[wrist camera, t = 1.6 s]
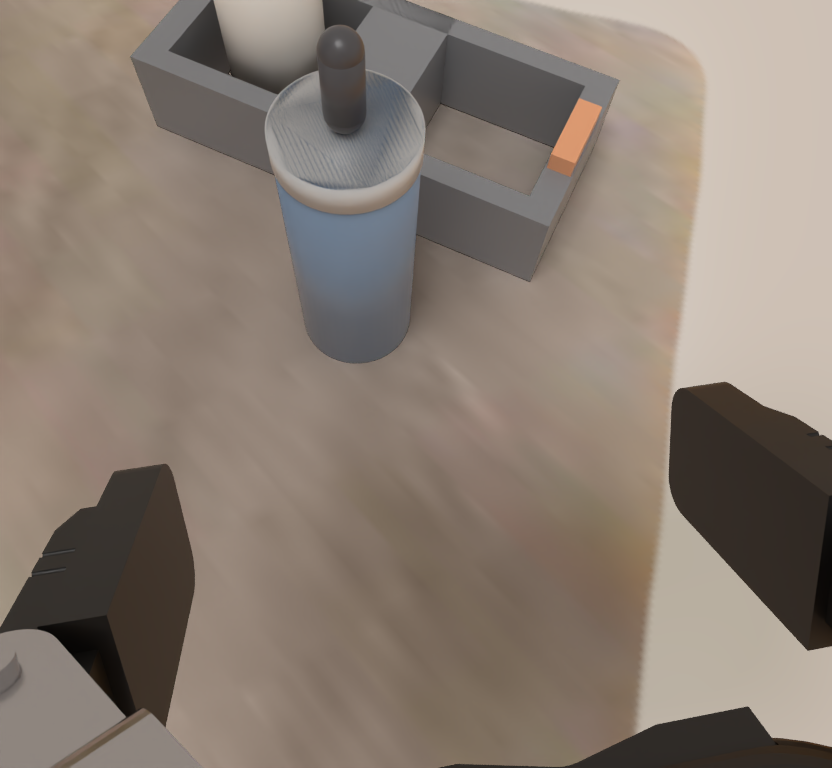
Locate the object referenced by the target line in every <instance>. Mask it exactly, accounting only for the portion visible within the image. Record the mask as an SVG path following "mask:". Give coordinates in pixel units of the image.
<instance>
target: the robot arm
mask: <svg viewBox="0 0 832 768" xmlns="http://www.w3.org/2000/svg"><path fill="white" fill-rule="evenodd" d="M669 484H670V490H671V494H672V497H673V499H674V502H675V504H676V506H677V508H678V510H679V511H680V513H681V514H682V515H683V516H684V517H685V518H686V519H687V520H688V521H689V523H690V524H691V525H692V526H693V527H694V528H695V529H696V530H697V531H698V532H699V533H700V534H701V535H702V537H703V538H704V539H705V540H706V541H707V542H708V543H709V544H710V545H711V546H712V547H713V549H714V550H715V551H716V552H717V553H718V554H719V555H720V556H721V557H722V558H723V559H724V560H725V561H726V563H727V564H728V565H729V566H730V567H731V568H732V569H733V570H734V571H735V572H736V573H737V575H738V576H739V577H740V578H741V579H742V580H743V581H744V582H745V583H746V584H747V585H748V586H749V588H750V589H751V590H752V591H753V592H754V593H755V594H756V595H757V596H758V597H759V598H760V599H761V601H762V602H763V603H764V604H765V605H766V606H767V607H768V608H769V609H770V610H771V611H772V612H773V614H774V615H775V616H776V617H777V618H778V619H779V620H780V621H781V622H782V623H783V624H784V626H785V627H786V628H787V629H788V630H789V631H790V632H791V633H792V634H793V635H794V636H795V637H796V638H797V640H798V641H799V642H800V643H801V644H802V645H803V646H804V647H805V648H806V649H807V650H814V649H819V648H824V647H829V646H832V440H830V439H829V438H827V437H825V436H824V435H820V436H819V433H818V431H816V430H814V429H813V428H811V427H810V426H808V425H807V424H805V423H804V422H802V421H800V420H799V419H797V418H796V417H794V416H791V415H788V414H785V413H782V412H779V411H776V410H773V409H770V408H768V407H765V406H763V405H761V404H760V403H758V402H757V401H755V400H754V399H752V398H751V397H749V396H748V395H746V394H744V393H743V392H742V391H740V390H738V389H737V388H736V387H734V386H733V385H731V384H729V383H727V382H721V383H714V384H707V385H700V386H693V387H687V388H680V389H678V390H677V391H676V393H675V394H674V397H673V401H672V410H671V434H670V457H669ZM42 554H43V557H42V558H39V560H38V562H37V563H36V565H35V567H34V569H33V571H32V577H29V578H28V579H27V581H26V583H25V585H24V586H23V588H22V590H21V592H20V594H19V595H18V597H17V599H16V601H15V602H14V604H13V606H12V608H11V610H10V611H9V613H8V615H7V617H6V618H5V620H4V622H3V624H2V625H1V627H0V768H203V767H202V766H201V765H200V764H199V763H198V762H197V761H196V760H195V759H194V758H193V757H192V756H191V755H190V754H189V752H188V751H187V750H186V749H185V748H184V747H183V746H182V745H181V744H180V743H179V742H178V741H177V740H176V739H175V738H174V736H173V735H172V734H171V733H170V732H169V731H168V730H167V729H166V728H165V727H166V722H167V717H168V712H169V708H170V703H171V698H172V694H173V689H174V684H175V679H176V675H177V670H178V665H179V661H180V656H181V651H182V646H183V642H184V637H185V632H186V628H187V623H188V618H189V614H190V609H191V604H192V599H193V595H194V587H195V572H194V561H193V555H192V550H191V546H190V542H189V538H188V534H187V530H186V526H185V522H184V517H183V513H182V509H181V505H180V501H179V497H178V493H177V489H176V485H175V481H174V477H173V474H172V472H171V469H170V468H169V466H168V465H167V464H161V465H154V466H147V467H140V468H134V469H127V470H120V471H115V472H114V473H113V474H112V476H111V478H110V480H109V482H108V484H107V486H106V488H105V490H104V492H103V494H102V496H101V498H100V500H99V502H98V504H97V506H96V507H90V508H83V509H80V510H79V511H78V512H76V513H75V514H74V515H73V516H72V517H71V518H69V519H68V520H67V521H66V522H65V523H63V524H62V525H61V526H60V527H59V528H58V529H56V530H55V532H54V533H53V535H52V537H51V539H50V540H49V542H48V544H47V546H46V548H45V549H44V551H43V553H42ZM440 768H832V747H828V746H824V745H820V744H815V743H810V742H805V741H798V740H789V739H783V738H771V736H770V735H769V734H768V732H767V731H766V730H765V728H764V727H763V726H762V725H761V723H760V722H759V720H758V719H757V718H756V716H755V715H754V714H753V712H752V711H751V709H750V708H749V707H744V708H738V709H734V710H728V711H724V712H718V713H713V714H708V715H703V716H698V717H693V718H688V719H683V720H678V721H672V722H668V723H663V724H658V725H655V726H652V727H650V728H648V729H646V730H644V731H642V732H640V733H638V734H636V735H634V736H632V737H630V738H628V739H625V740H623V741H621V742H619V743H617V744H615V745H613V746H611V747H609V748H607V749H605V750H603V751H601V752H598V753H596V754H594V755H592V756H590V757H588V758H586V759H584V760H582V761H580V762H578V763H575V764H573V765H569V766H564V767H536V766H502V765H469V764H455V765H450V766H445V767H440Z"/></svg>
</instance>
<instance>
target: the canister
mask: <svg viewBox="0 0 832 768" xmlns="http://www.w3.org/2000/svg"><path fill="white" fill-rule="evenodd" d="M317 62H318V71H315V72H312V73H310V74H307V75H305V76H303V77H301V78H299V79H297V80H295V81H294V82H292V83H291V84H289V85H288V86H287V87H286V88H284V89H283V90H282V91H281V92H280V93H279V95H278V96H277V97H276V98H275V100H274V101H273V103H272V104H271V106H270V108H269V111H268V113H267V117H266V120H265V139H266V144H267V148H268V153H269V158H270V163H271V167H272V170H273V173H274V175H275V179H276V184H277V189H278V194H279V199H280V203H281V208H282V213H283V218H284V223H285V228H286V233H287V238H288V243H289V248H290V253H291V258H292V263H293V267H294V272H295V277H296V282H297V287H298V292H299V297H300V302H301V307H302V312H303V317H304V322H305V326H306V330H307V333H308V335H309V337H310V339H311V340H312V342H313V343H314V344H315V346H316V347H317V348H318V349H319V350H321V351H322V352H323V353H325V354H326V355H328V356H330V357H331V358H333V359H336V360H339V361H343V362H347V363H366V362H371V361H375V360H377V359H380V358H382V357H384V356H386V355H388V354H389V353H390V352H392V351H393V350H394V349H395V348H396V347H397V346H398V345H399V344H400V343H401V342H402V340H403V338H404V337H405V335H406V333H407V330H408V327H409V321H410V309H411V296H412V282H413V269H414V255H415V242H416V229H417V215H418V202H419V188H420V175H421V168H422V164H423V157H424V145H425V121H424V116H423V113H422V110H421V108H420V106H419V104H418V103H417V101H416V100H415V98H414V97H413V96H412V94H411V93H410V92H409V91H408V90H407V89H406V88H404V87H403V86H402V85H401V84H399V83H398V82H396V81H395V80H393V79H391V78H389V77H387V76H385V75H383V74H380V73H377V72H374V71H371V70H367V69H365V47H364V43H363V41H362V38H361V37H360V35H359V34H358V33H357V32H356V31H355V30H354V29H352V28H351V27H349V26H346V25H334V26H331V27H329V28H327V29H326V30H325V31H324V32H323V33H322V34H321V36H320V38H319V40H318V43H317Z"/></svg>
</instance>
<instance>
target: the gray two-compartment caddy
mask: <svg viewBox="0 0 832 768" xmlns="http://www.w3.org/2000/svg"><path fill="white" fill-rule="evenodd" d="M334 25H346V26H349V27H351V28H352V29H354V30H355V31H356V32H357V33H358V34H359V35H360V37H361V38H362V41H363V43H364V47H365V69H367V70H371V71H374V72H377V73H380V74H383V75H385V76H387V77H389V78H391V79H393V80H395V81H396V82H398V83H399V84H401V85H402V86H403V87H404V88H406V89H407V90H408V91H409V92H410V93H411V94H412V96H413V97H414V98H415V100H416V101H417V103H418V104H419V106H420V108H421V110H422V113H423V116H424V121H425V128H426V126H427V125H428V123H429V122H430V120H431V118H432V117H433V115H434V113H435V112H436V110H437V108H438V107H439V105H440V103H442V104H444V105H447V106H449V107H452V108H454V109H457V110H460V111H462V112H465V113H467V114H470V115H472V116H475V117H478V118H480V119H483V120H485V121H488V122H490V123H493V124H495V125H498V126H501V127H503V128H506V129H508V130H511V131H513V132H516V133H519V134H521V135H524V136H526V137H529V138H531V139H534V140H536V141H539V142H542V143H544V144H547V145H549V146H552V147H554V149H553V151H552V153H551V155H550V157H549V159H548V161H547V163H546V165H545V167H544V169H543V171H542V173H541V175H540V177H539V179H538V181H537V183H536V185H535V187H534V189H533V190H532V192H531V194H530V196H528V195H526V194H523V193H521V192H518V191H516V190H513V189H511V188H508V187H506V186H503V185H501V184H498V183H496V182H493V181H491V180H488V179H486V178H483V177H481V176H478V175H476V174H473V173H471V172H469V171H466V170H464V169H461V168H459V167H456V166H454V165H451V164H449V163H446V162H444V161H441V160H439V159H436V158H434V157H431V156H429V155H426V154H424V157H423V164H422V168H421V175H420V188H419V202H418V215H417V229H416V234H417V235H420V236H422V237H424V238H427V239H429V240H431V241H434V242H436V243H439V244H441V245H443V246H446V247H448V248H451V249H453V250H455V251H458V252H460V253H463V254H465V255H467V256H470V257H472V258H474V259H477V260H479V261H482V262H484V263H486V264H489V265H491V266H494V267H496V268H498V269H501V270H503V271H505V272H508V273H510V274H513V275H515V276H517V277H520V278H522V279H525V280H527V281H529V282H530V280H531V278H532V276H533V274H534V272H535V270H536V267H537V265H538V263H539V261H540V259H541V257H542V255H543V253H544V251H545V249H546V246H547V244H548V242H549V240H550V238H551V236H552V234H553V232H554V230H555V228H556V225H557V223H558V221H559V219H560V217H561V215H562V213H563V211H564V209H565V207H566V204H567V202H568V200H569V198H570V196H571V194H572V192H573V190H574V188H575V186H576V183H577V181H578V179H579V177H580V175H581V173H582V171H583V169H584V167H585V165H586V162H587V160H588V158H589V156H590V154H591V152H592V150H593V148H594V146H595V143H596V140H597V138H598V135H599V133H600V130H601V127H602V125H603V122H604V120H605V117H606V114H607V112H608V109H609V106H610V104H611V101H612V99H613V96H614V93H615V91H616V88H617V86H618V83H619V80H618V79H615V78H613V77H610V76H607V75H605V74H602V73H599V72H596V71H594V70H591V69H588V68H586V67H583V66H580V65H578V64H575V63H572V62H570V61H567V60H564V59H562V58H559V57H556V56H553V55H551V54H548V53H545V52H543V51H540V50H537V49H535V48H532V47H529V46H527V45H524V44H521V43H519V42H516V41H513V40H510V39H508V38H505V37H502V36H500V35H497V34H494V33H492V32H489V31H486V30H484V29H481V28H478V27H476V26H473V25H470V24H468V23H465V22H462V21H459V20H457V19H454V18H451V17H449V16H446V15H443V14H441V13H438V12H435V11H433V10H430V9H427V8H425V7H422V6H419V5H416V4H414V3H411V2H408V1H406V0H179V1H178V2H177V4H176V5H175V6H174V7H173V8H172V9H171V10H170V12H169V13H168V14H167V15H166V16H165V17H164V18H163V20H162V21H161V22H160V23H159V24H158V25H157V26H156V28H155V29H154V30H153V31H152V32H151V33H150V35H149V36H148V37H147V38H146V39H145V40H144V41H143V43H142V44H141V45H140V46H139V47H138V48H137V49H136V51H135V52H134V53H133V54H132V55H131V56H130V57H131V60H132V62H133V65H134V67H135V70H136V73H137V75H138V78H139V80H140V83H141V85H142V88H143V90H144V93H145V96H146V98H147V101H148V103H149V106H150V108H151V111H152V113H153V116H154V119H155V121H156V124H157V126H159V127H162V128H164V129H166V130H169V131H171V132H174V133H176V134H178V135H181V136H183V137H185V138H188V139H190V140H193V141H195V142H197V143H200V144H202V145H205V146H207V147H209V148H212V149H214V150H217V151H219V152H221V153H224V154H226V155H228V156H231V157H233V158H236V159H238V160H240V161H243V162H245V163H248V164H250V165H252V166H255V167H257V168H260V169H262V170H264V171H267V172H269V173H271V174H274V173H273V170H272V167H271V163H270V158H269V153H268V148H267V144H266V139H265V120H266V117H267V113H268V111H269V108H270V106H271V104H272V103H273V101H274V100H275V98H276V97H277V96H278V95H279V93H280V92H281V91H282V90H283V89H284V88H286V87H287V86H288V85H289V84H291V83H292V82H294V81H295V80H297V79H299V78H301V77H303V76H305V75H307V74H310V73H312V72H315V71H318V62H317V43H318V40H319V38H320V36H321V34H322V33H323V32H324V31H325V30H326V29H327V28H329V27H331V26H334ZM229 71H231V75H232V76H230V75H227V74H228V73H229Z"/></svg>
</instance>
